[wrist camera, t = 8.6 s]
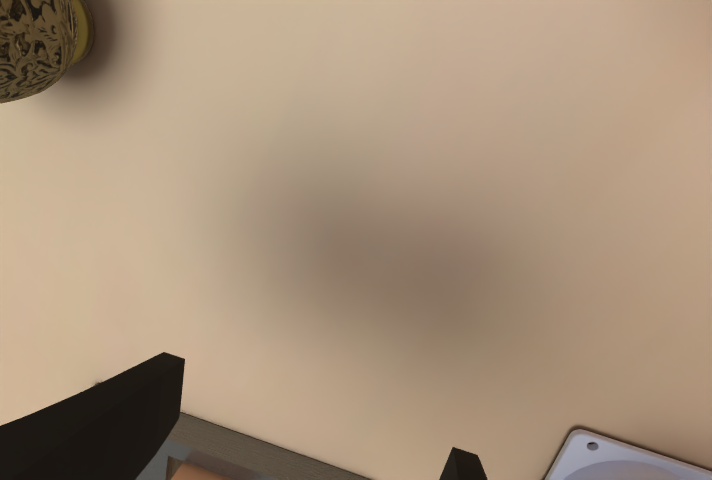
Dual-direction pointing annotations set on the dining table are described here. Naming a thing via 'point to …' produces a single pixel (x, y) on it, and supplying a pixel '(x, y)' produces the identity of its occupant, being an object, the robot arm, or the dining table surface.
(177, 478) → the square peg
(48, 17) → the cup
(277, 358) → the dining table surface
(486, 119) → the dining table surface
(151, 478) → the grey square hole board
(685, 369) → the dining table surface
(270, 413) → the dining table surface
